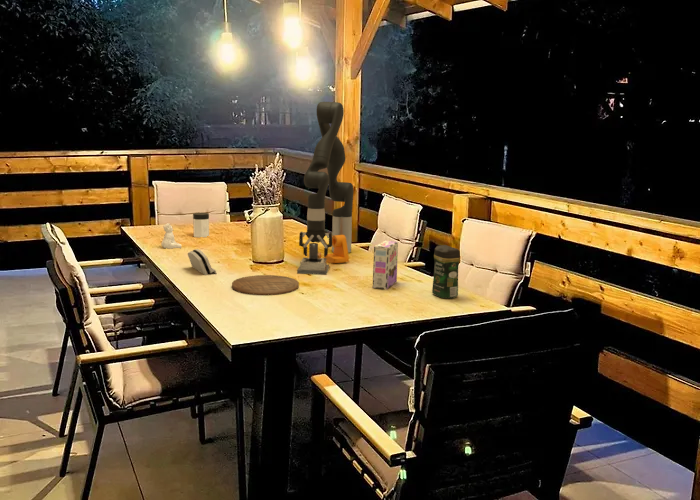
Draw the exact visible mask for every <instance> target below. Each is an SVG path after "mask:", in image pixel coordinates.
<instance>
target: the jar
mask: <svg viewBox="0 0 700 500" xmlns="http://www.w3.org/2000/svg"><path fill="white" fill-rule="evenodd" d="M209 214H210V213H209V212H194V213H192V219H193V223H192V224H193V226H192V227H193V228H192V229H193V237H194V238H200V237H203V238H208V237H207V236H209V237H210V215H209Z"/></svg>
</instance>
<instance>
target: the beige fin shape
mask: <svg viewBox="0 0 700 500" xmlns="http://www.w3.org/2000/svg"><path fill="white" fill-rule="evenodd" d="M187 257H188V258H189V262H190V265H191V267H192V268H193V269H194V268H195V269H194V270H196V271H198V272H199V273H201V274H202V273H203V274H202V275H204V276H207V275H209V274H212V273H213V272H214V273H213V274H215V275H217V271H216V269H214V268H213V267H212V266H211V263H210V261H209V258H208V257H207V255H206V254H205V253H204V251H202V250H201V249H198V248H197V249H192V250H190V251H189V252H188V253H187Z"/></svg>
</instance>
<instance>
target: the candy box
mask: <svg viewBox="0 0 700 500" xmlns="http://www.w3.org/2000/svg"><path fill="white" fill-rule="evenodd" d="M398 247H399V242H398V241H393V240H383V241H382V242H380V243H378V244H376V245H374V246H373V266H372V267H373V268H372V269H373V270H372V288H373V289H381V290H388V289H389V288H390V287H392V286H393V285H395V284H396V283H397V280H398V278H397V277H398V275H397V274H398V254H399V253H398V251H399V248H398Z"/></svg>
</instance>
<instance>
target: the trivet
mask: <svg viewBox="0 0 700 500" xmlns="http://www.w3.org/2000/svg"><path fill="white" fill-rule="evenodd" d="M299 286H300V282H299V281H298V280H297V279H295V278H292V277H289V276H285V275H273V274H272V275H271V274H263V275H261V274H260V275H257V274H256V275H249V276H243V277H239V278H236V279H235V280H232V283H231V288H232V290H233V291H235V292H237V293H241V294H245V295H250V296H251V295H253V296H275V295H276V296H279V295H285V294H289V293H292V292H295V291H297V290H298V289H299Z"/></svg>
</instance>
